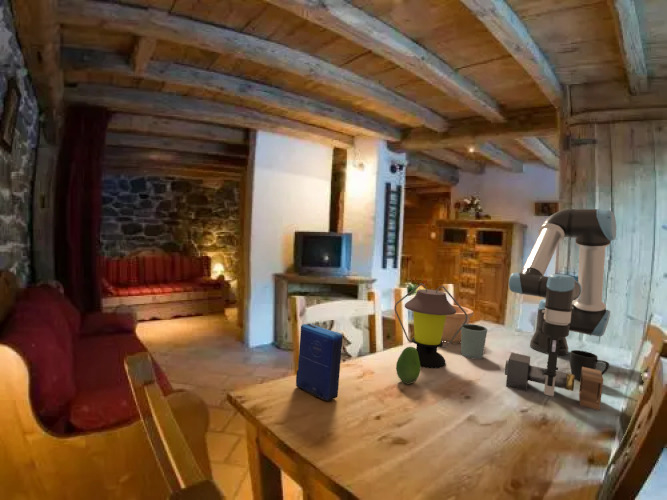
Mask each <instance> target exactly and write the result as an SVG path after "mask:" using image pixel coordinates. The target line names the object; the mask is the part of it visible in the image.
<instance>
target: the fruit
mask: <svg viewBox="0 0 667 500" xmlns="http://www.w3.org/2000/svg"><path fill="white" fill-rule="evenodd" d="M395 369H396V374H397V377H398V378H399V380H400V381H401V382H403V383H405V384H412V383H414V382H416V381H417V379H418V378H419V376H420V373H421V367H420V361H419V356H418V352H417V350H416V347H413V346H406V348H404V349H403V350H402V351H401V353H400V355H399V357H398V359H397V361H396V367H395Z"/></svg>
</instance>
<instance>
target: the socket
mask: <svg viewBox="0 0 667 500" xmlns="http://www.w3.org/2000/svg"><path fill="white" fill-rule="evenodd" d="M601 373H602V371H601V369H600V370H599V369H596V370H595V369H591V368H586V367H582V372H581V380H580V381H579V383H580V384H579V390H578V391H579V392H578V398H579V399H578V400H579V406H582V407H584V408H585V407H586V408H589V409H594V410H598V411H600V409H601V402H602V395H603V394H602V393H603V384H604V377H603V375H602V374H601Z"/></svg>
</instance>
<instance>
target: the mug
mask: <svg viewBox="0 0 667 500" xmlns="http://www.w3.org/2000/svg"><path fill="white" fill-rule="evenodd" d="M598 358H599V357H598V355H596V354H595V353H592V352H590V351H585V350H577V349H573V350H571V351H570V356H569V365H570V374H573V375H575V379H574V381H575V380H576V381H578V382H580V380H581V372H582V367H586V368H591V369H595V370H597V366H598V365H597V364H598V363H604V365H605V367H604V369H603V371H601V374H602V376H603V375H605V373H606V372H607V371H608V370H609V368H610V362H608V361H606V360H602V359H598Z"/></svg>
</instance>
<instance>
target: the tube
mask: <svg viewBox="0 0 667 500" xmlns="http://www.w3.org/2000/svg"><path fill="white" fill-rule="evenodd" d="M508 361H509V359H506V360H505V366H504V376H507V371H508ZM544 372H545V373H546V372H547V368H543V367H539V366H535V365H529V367H528V377H527V380H528V382H529V381H530V382H534V383H538V384H541V385H545V379H546V375H544ZM554 388H558V389H563V390H567V391H570V392H574V388H575V375H573V374H572V373H568V372H562V371H559V370H556V377H555V387H554Z"/></svg>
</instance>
